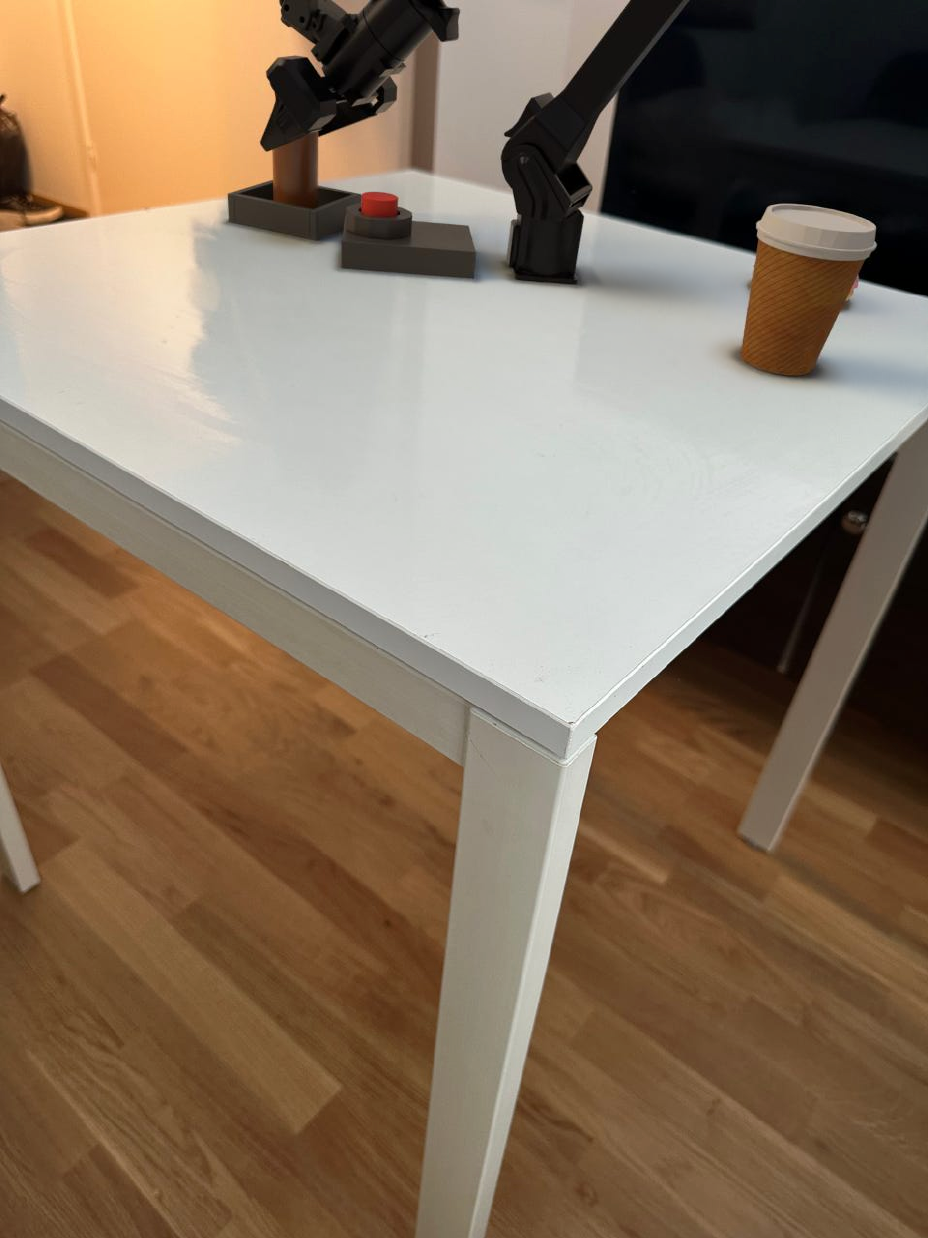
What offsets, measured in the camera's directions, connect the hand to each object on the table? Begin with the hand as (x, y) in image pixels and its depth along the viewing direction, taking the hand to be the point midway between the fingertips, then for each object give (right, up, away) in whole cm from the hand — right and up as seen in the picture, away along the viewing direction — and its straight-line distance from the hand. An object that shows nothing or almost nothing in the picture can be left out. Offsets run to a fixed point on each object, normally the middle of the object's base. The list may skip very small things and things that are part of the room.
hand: (286, 141), depth 98 cm
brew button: (+10, -10, -6) cm, 16 cm away
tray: (0, -7, +4) cm, 8 cm away
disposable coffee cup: (+46, -28, -17) cm, 57 cm away
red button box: (+13, -14, -3) cm, 19 cm away
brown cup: (0, -6, +4) cm, 8 cm away
